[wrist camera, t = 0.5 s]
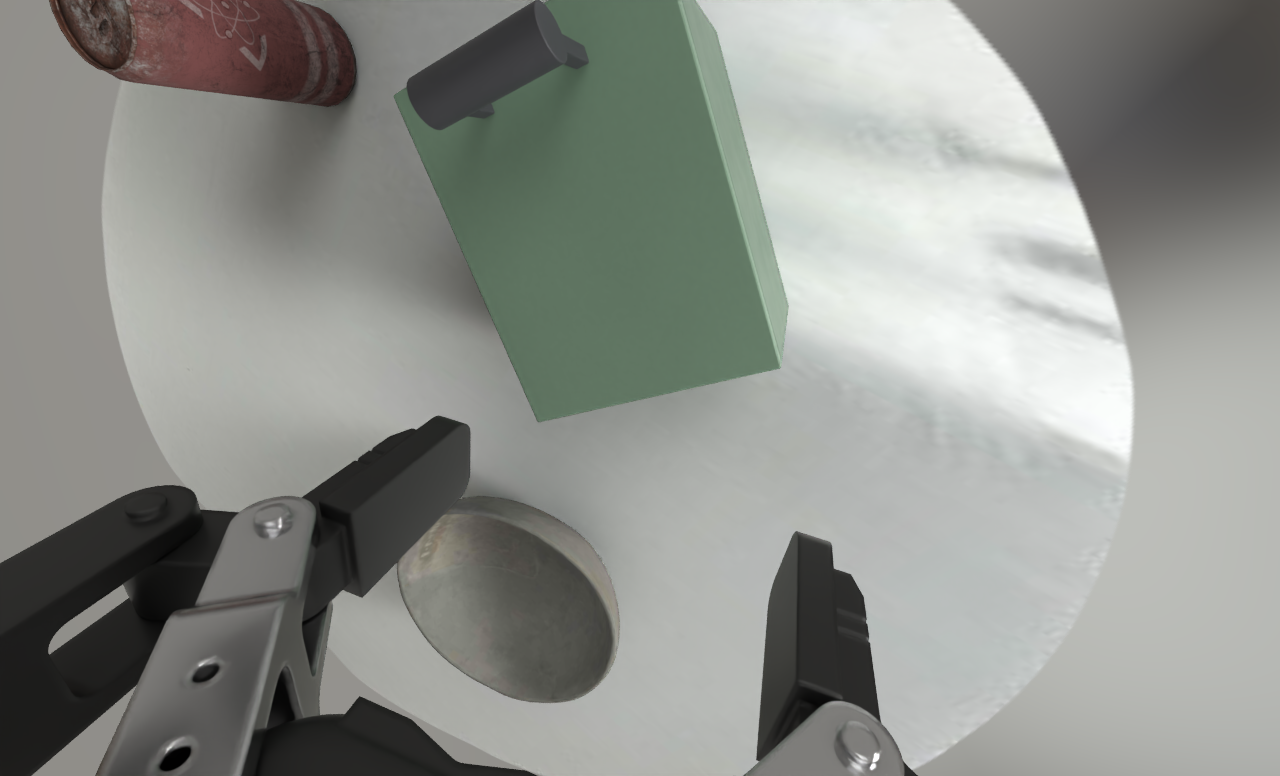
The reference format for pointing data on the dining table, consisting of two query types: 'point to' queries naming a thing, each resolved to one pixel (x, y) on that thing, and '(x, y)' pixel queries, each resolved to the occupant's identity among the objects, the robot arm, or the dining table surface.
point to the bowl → (513, 600)
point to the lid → (594, 202)
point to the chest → (739, 166)
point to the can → (215, 46)
